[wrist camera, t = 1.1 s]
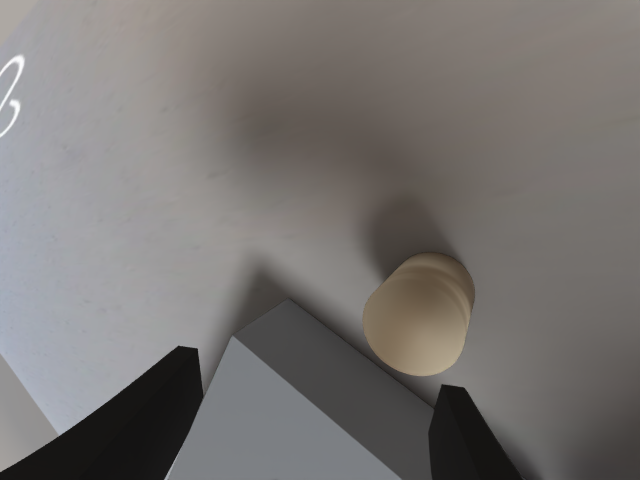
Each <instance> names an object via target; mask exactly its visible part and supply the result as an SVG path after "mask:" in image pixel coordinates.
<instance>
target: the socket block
mask: <svg viewBox="0 0 640 480" xmlns="http://www.w3.org/2000/svg"><path fill="white" fill-rule="evenodd" d="M433 413H434V409H433V408H432V407H430V406H429V405H428V404H427V403H425V402H424V401H423V400H421V399H420V398H419V397H417V396H416V395H415V394H413V393H412V392H411V391H410V390H408V389H407V388H406V387H404V386H403V385H402V384H400V383H399V382H398V381H396V380H395V379H394V378H392V377H391V376H390V375H389V374H387V373H386V372H385V371H383V370H382V369H381V368H379V367H378V366H377V365H375V364H374V363H373V362H372V361H370V360H369V359H368V358H366V357H365V356H364V355H362V354H361V353H360V352H358V351H357V350H356V349H355V348H353V347H352V346H351V345H349V344H348V343H347V342H345V341H344V340H343V339H341V338H340V337H339V336H337V335H336V334H335V333H334V332H332V331H331V330H330V329H328V328H327V327H326V326H324V325H323V324H322V323H320V322H319V321H318V320H317V319H315V318H314V317H313V316H311V315H310V314H309V313H307V312H306V311H305V310H303V309H302V308H301V307H300V306H298V305H297V304H296V303H294V302H293V301H292V300H290V299H289V298H288V299H286V300H285V301H283V302H282V303H280V304H279V305H277V306H276V307H274V308H273V309H271V310H270V311H268V312H267V313H265V314H263V315H262V316H260V317H259V318H257V319H256V320H254V321H253V322H251V323H250V324H248V325H247V326H245V327H244V328H242V329H241V330H239V331H238V332H236V333H235V334H233V335H232V337H231V339H230V341H229V343H228V345H227V348H226V350H225V352H224V354H223V357H222V359H221V361H220V363H219V366H218V368H217V370H216V372H215V375H214V377H213V379H212V381H211V384H210V386H209V388H208V390H207V392H206V395H205V397H204V399H203V401H202V404H201V406H200V408H199V410H198V413H197V415H196V417H195V420H194V422H193V425H192V427H191V429H190V432H189V434H188V435H187V437H186V439H185V442H184V444H183V446H182V448H181V451H180V453H179V455H178V457H177V460H176V462H175V464H174V466H173V469H172V471H171V473H170V475H169V478H168V480H432V475H431V466H430V454H429V440H428V431H429V427H430V424H431V420H432V417H433ZM521 477H522V476H521ZM522 478H523V477H522ZM523 480H526V479H525V478H523Z"/></svg>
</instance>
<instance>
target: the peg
mask: <svg viewBox="0 0 640 480" xmlns="http://www.w3.org/2000/svg"><path fill="white" fill-rule="evenodd" d="M474 298H475V289H474V284H473V281H472V279H471V276H470V275H469V273H468V271H467V270H466V269H465V268H464V267H463V266H462V265H461V264H460V263H459V262H458V261H456V260H455V259H453V258H451V257H450V256H447V255H445V254H441V253H436V252H425V253H420V254H416V255H414V256H412V257H410V258H408V259H407V260H406V261H404V262H403V263H402V264H401V265H400V266H399V267H398V268H397V269H396V270H395V271H394V272H393V273H392V274H391V275H390V276H389V277H388V279H387V280H386V281H385V282H384V283H383V284H382V285H381V286H380V287H379V288H378V289H377V290H376V291H375V292H374V293H373V294H372V295H371V296H370V297H369V299H368V301H367V303H366V305H365V308H364V311H363V329H364V333H365V336H366V339H367V341H368V343H369V345H370V347H371V348H372V350H373V351H374V352H375V354H376V355H377V356H378V357H379V358H380V359H381V360H382V361H383V362H385V363H386V364H387V365H389V366H390V367H392V368H394V369H396V370H398V371H400V372H402V373H406V374H409V375H415V376H430V375H434V374H438V373H440V372H443V371H445V370H446V369H448V368H449V367H451V366H452V365H453V364H454V363H455V362H456V361H457V359H458V358H459V356H460V354H461V352H462V350H463V346H464V343H465V338H466V334H467V330H468V325H469V321H470V316H471V312H472V308H473V303H474Z"/></svg>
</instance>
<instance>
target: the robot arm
mask: <svg viewBox="0 0 640 480" xmlns="http://www.w3.org/2000/svg"><path fill="white" fill-rule="evenodd" d="M202 399H203V389H202V381H201V372H200V364H199V356H198V349H197V348H190V347H183V346H178V347H176V348H175V349H174V350H172V351H171V352H170V353H169V354H167V355H166V356H165V357H164V358H162V359H161V360H160V361H159V362H157V363H156V364H155V365H154V366H152V367H151V368H150V369H149V370H148V371H146V372H145V373H144V374H143V375H141V376H140V377H139V378H138V379H136V380H135V381H134V382H132V383H131V384H130V385H129V386H127V387H126V388H125V389H123V390H122V391H121V392H120V393H118V394H117V395H116V396H114V397H113V398H112V399H111V400H109V401H108V402H107V403H105V404H104V405H103V406H101V407H100V408H98V409H97V410H96V411H94V412H93V413H91V414H90V415H89V416H87V417H86V418H85V419H83V420H82V421H80V422H79V423H78V424H76V425H75V426H73V427H72V428H70V429H69V430H67V431H66V432H65V433H63V434H62V435H60V436H59V437H57V438H56V439H54V440H53V441H51V442H50V443H48V444H46V445H45V446H43V447H42V448H40V449H38V450H37V451H35V452H34V453H32V454H31V455H29V456H28V457H26V458H24V459H22V460H21V461H19V462H17V463H16V464H14V465H12V466H11V467H9V468H7V469H5V470H3V471H2V472H0V480H164V479H165V477H166V475H167V473H168V471H169V470H170V468H171V466H172V464H173V462H174V460H175V458H176V456H177V455H178V453H179V451H180V449H181V447H182V445H183V443H184V441H185V439H186V437H187V435H188V434H189V432H190V429H191V427H192V425H193V422H194V420H195V417H196V415H197V412H198V410H199V407H200V404H201V402H202ZM428 440H429V454H430V466H431V475H432V480H523V478H522V477H521V475H520V474H519V472H518V471H517V469H516V468H515V466H514V465H513V463H512V462H511V460H510V459H509V458H508V456H507V455H506V453H505V452H504V450H503V449H502V447H501V446H500V444H499V442H498V441H497V439H496V438H495V436H494V435H493V433H492V431H491V430H490V428H489V427H488V425H487V423H486V422H485V420H484V419H483V417H482V415H481V414H480V412H479V410H478V409H477V407H476V405H475V404H474V402H473V400H472V399H471V397H470V395H469V394H468V392H467V391H466V389H465V388H464V387H457V386H450V385H443V384H442V385H441V389H440V392H439V396H438V399H437V403H436V406H435V410H434V413H433V417H432V420H431V424H430V427H429V431H428Z"/></svg>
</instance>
